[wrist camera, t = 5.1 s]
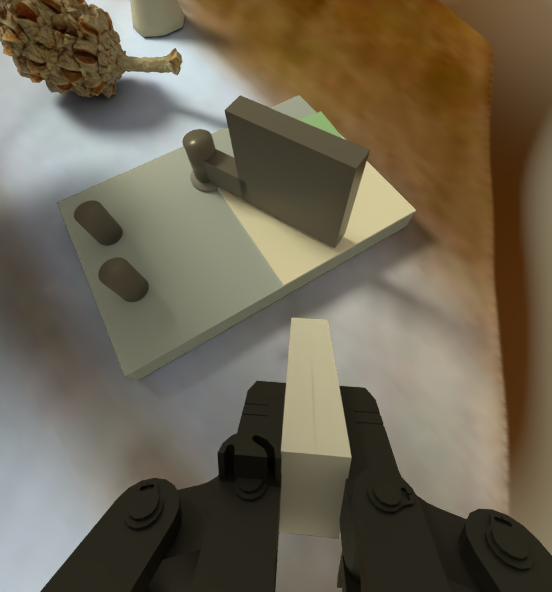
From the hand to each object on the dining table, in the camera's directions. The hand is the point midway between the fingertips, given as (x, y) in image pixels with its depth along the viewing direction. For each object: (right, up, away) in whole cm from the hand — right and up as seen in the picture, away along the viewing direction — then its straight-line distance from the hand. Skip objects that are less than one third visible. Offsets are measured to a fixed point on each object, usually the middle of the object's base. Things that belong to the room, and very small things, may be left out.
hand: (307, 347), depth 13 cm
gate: (-2, +10, +13) cm, 17 cm away
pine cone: (-20, +26, +23) cm, 41 cm away
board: (-5, +9, +15) cm, 19 cm away
